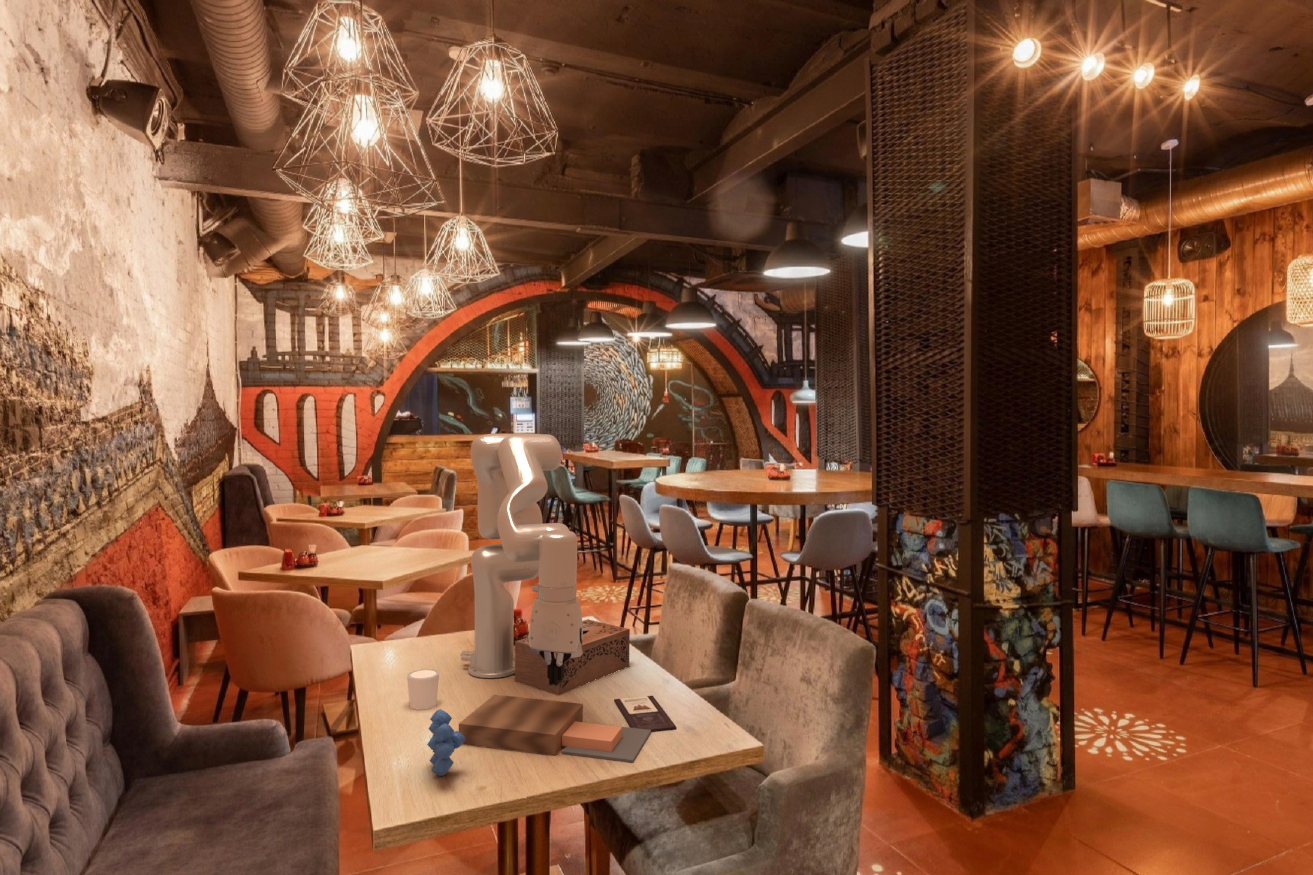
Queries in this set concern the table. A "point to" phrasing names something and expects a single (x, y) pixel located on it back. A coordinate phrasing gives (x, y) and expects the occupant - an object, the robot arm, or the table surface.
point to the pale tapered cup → (423, 688)
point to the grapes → (443, 742)
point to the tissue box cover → (577, 659)
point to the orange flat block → (592, 736)
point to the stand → (520, 724)
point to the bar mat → (622, 751)
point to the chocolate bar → (644, 713)
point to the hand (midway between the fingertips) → (555, 682)
